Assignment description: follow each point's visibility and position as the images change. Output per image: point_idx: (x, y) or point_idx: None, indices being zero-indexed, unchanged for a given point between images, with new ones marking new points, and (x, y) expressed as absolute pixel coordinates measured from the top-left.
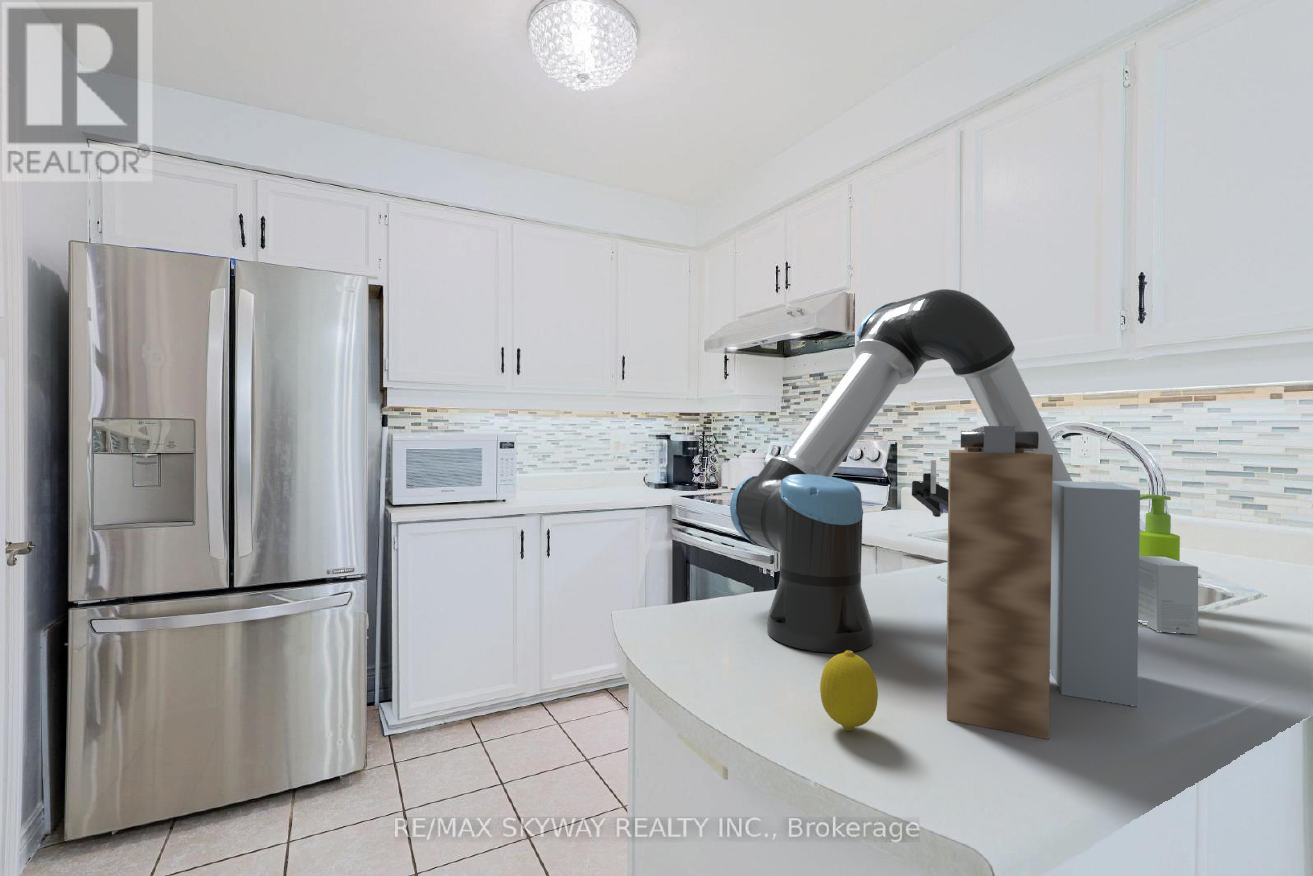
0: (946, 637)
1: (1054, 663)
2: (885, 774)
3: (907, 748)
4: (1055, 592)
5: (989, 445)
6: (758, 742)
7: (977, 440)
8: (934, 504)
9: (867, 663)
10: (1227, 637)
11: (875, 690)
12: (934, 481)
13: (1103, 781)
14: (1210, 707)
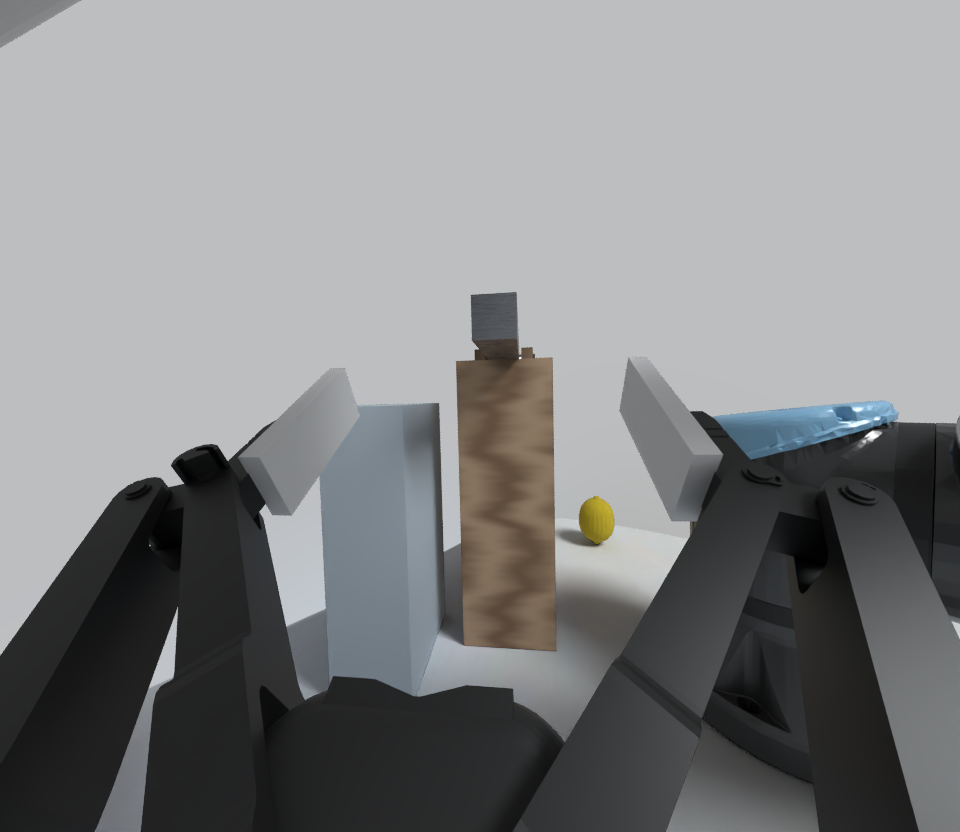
0: (555, 617)
1: (433, 625)
2: (566, 528)
3: (561, 540)
4: (430, 539)
5: None
6: (631, 530)
7: None
8: (827, 777)
9: (586, 503)
10: None
11: (579, 513)
12: (636, 436)
13: None
14: (307, 627)
